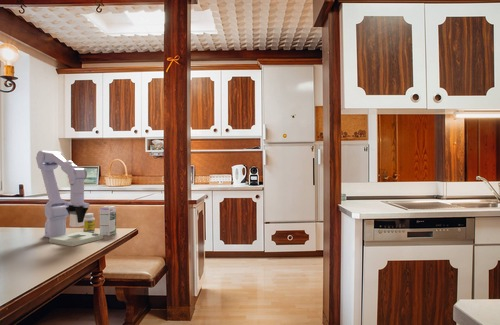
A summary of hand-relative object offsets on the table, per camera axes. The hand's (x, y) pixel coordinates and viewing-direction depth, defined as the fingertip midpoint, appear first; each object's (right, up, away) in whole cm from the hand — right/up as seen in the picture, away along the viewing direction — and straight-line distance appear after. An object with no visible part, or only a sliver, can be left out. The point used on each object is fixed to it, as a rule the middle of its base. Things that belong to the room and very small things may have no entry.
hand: (77, 221), depth 150 cm
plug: (0, -2, 0) cm, 2 cm away
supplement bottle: (-4, -9, +18) cm, 21 cm away
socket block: (0, -9, 0) cm, 9 cm away
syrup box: (+9, -9, +14) cm, 19 cm away
